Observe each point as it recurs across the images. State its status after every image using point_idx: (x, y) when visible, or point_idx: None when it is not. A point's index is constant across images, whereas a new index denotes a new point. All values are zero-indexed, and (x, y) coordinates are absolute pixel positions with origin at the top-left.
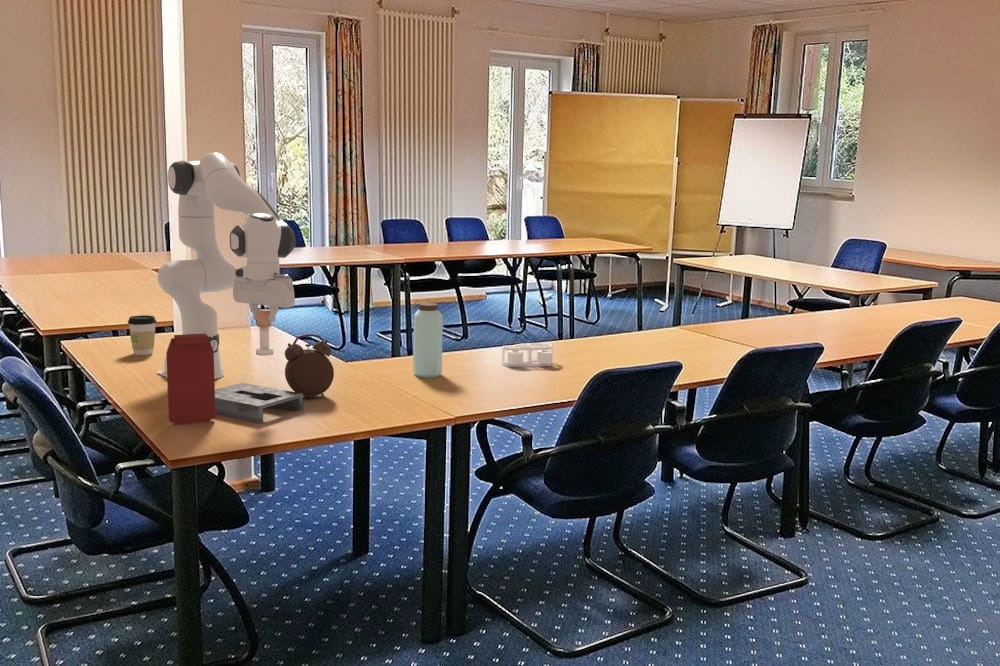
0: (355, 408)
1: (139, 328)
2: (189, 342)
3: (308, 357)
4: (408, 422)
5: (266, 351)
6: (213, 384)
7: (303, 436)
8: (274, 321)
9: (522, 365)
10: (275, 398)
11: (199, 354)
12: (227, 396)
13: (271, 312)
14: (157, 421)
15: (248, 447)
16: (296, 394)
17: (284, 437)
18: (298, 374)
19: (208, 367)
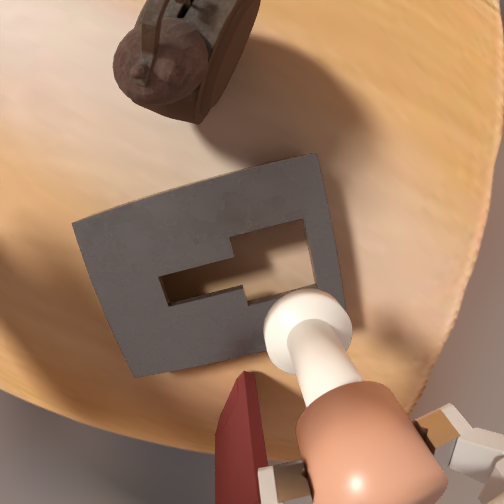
0: (373, 54)
1: None
2: None
3: (229, 34)
4: (499, 82)
5: (345, 346)
6: (260, 427)
7: (454, 284)
8: (446, 406)
9: None
10: (312, 252)
11: None
12: (202, 339)
13: (481, 474)
14: (179, 429)
15: (424, 379)
16: (314, 175)
17: (435, 314)
18: (216, 91)
19: None
